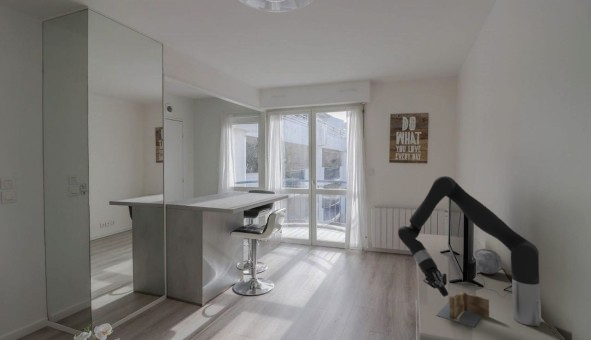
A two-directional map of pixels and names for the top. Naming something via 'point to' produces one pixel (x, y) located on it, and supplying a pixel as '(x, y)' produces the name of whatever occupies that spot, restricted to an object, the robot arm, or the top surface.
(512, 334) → the top surface
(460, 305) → the fence gate
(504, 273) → the top surface
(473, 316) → the board
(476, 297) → the fence fixed
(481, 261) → the decorative orb
